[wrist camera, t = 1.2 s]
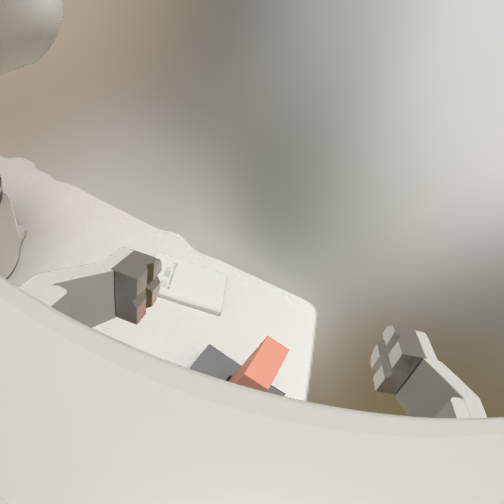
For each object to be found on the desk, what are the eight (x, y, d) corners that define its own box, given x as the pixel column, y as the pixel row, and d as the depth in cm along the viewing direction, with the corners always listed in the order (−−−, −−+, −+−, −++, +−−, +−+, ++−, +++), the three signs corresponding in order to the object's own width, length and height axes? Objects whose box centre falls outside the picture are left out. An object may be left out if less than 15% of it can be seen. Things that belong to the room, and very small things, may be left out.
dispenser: (162, 405, 31) (165, 398, 29) (204, 352, 39) (210, 342, 37) (244, 457, 29) (253, 455, 27) (276, 399, 37) (286, 392, 35)
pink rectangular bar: (204, 413, 32) (243, 374, 23) (224, 385, 36) (267, 335, 27) (221, 423, 32) (268, 389, 23) (239, 395, 36) (289, 349, 27)
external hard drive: (218, 318, 44) (140, 293, 42) (224, 279, 51) (155, 256, 48) (221, 312, 43) (141, 286, 41) (227, 273, 49) (157, 249, 47)
